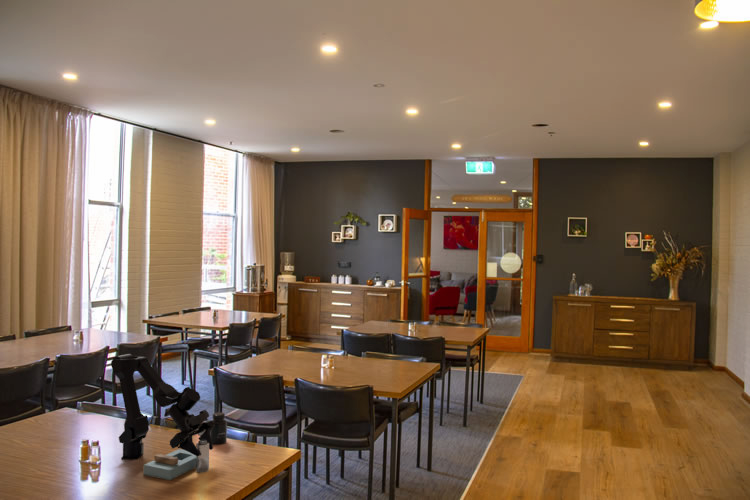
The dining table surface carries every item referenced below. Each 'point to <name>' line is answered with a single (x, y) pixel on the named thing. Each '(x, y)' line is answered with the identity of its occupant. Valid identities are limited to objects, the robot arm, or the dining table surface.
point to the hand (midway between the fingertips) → (205, 452)
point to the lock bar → (166, 459)
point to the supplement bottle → (219, 429)
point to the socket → (171, 466)
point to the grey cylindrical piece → (202, 456)
